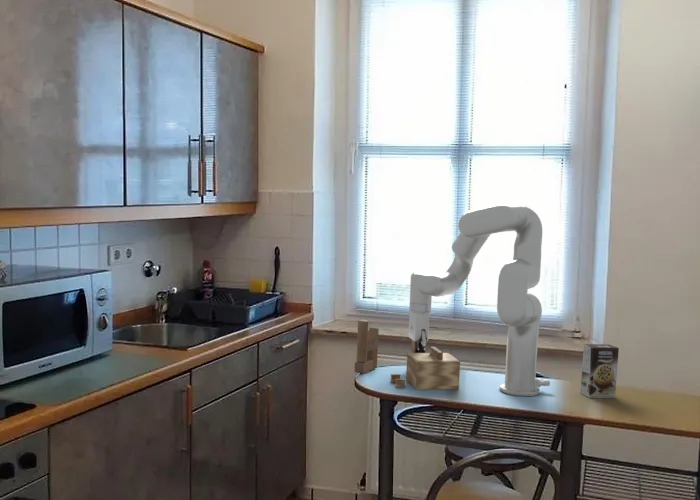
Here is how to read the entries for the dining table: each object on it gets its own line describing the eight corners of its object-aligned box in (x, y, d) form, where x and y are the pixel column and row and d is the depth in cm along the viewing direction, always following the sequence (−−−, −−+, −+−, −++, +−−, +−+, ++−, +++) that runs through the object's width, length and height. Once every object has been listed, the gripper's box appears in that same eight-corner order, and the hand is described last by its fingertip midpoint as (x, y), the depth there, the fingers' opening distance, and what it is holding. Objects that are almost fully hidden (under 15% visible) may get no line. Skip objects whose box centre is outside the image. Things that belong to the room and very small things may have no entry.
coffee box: (589, 398, 239) (592, 347, 238) (579, 392, 245) (582, 343, 244) (616, 398, 241) (619, 347, 239) (606, 392, 247) (609, 343, 246)
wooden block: (377, 368, 269) (379, 317, 268) (363, 374, 260) (365, 321, 258) (368, 366, 271) (370, 316, 270) (353, 372, 262) (355, 320, 260)
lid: (447, 355, 256) (448, 346, 256) (458, 363, 245) (459, 353, 245) (408, 355, 253) (408, 346, 253) (417, 363, 242) (417, 353, 242)
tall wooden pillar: (421, 367, 269) (422, 333, 268) (424, 369, 265) (426, 335, 264) (410, 367, 268) (411, 333, 267) (413, 370, 264) (414, 335, 263)
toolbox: (446, 378, 257) (447, 352, 257) (458, 388, 245) (460, 361, 244) (388, 379, 254) (389, 353, 253) (398, 389, 241) (399, 361, 240)
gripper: (403, 304, 273) (401, 354, 274) (416, 311, 256) (414, 365, 258) (423, 304, 274) (421, 354, 275) (437, 311, 258) (435, 365, 259)
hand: (418, 359), depth 266 cm, fingers closed on tall wooden pillar, 4 cm apart
